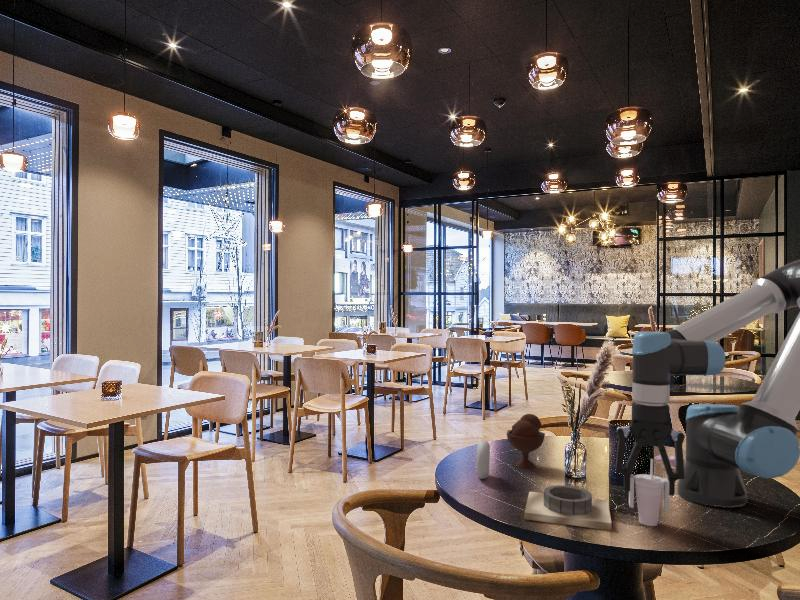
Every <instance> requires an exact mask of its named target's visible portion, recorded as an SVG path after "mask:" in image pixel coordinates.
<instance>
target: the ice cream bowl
mask: <svg viewBox="0 0 800 600" xmlns="http://www.w3.org/2000/svg"><path fill="white" fill-rule="evenodd" d="M541 427H542V422H541V420H540V418H539V417H538V416H537V415H536V414H533V413H526V414H524V415H522V416H521V418H520V419H519V420H517V421H515V423H514V424H513V425H512V426H511V429H508V430H507V432H506V436H507V440H508V443H509V444H510V445H511V446H512V447H513V448H515V449H516V450H518V451H519V452H521V454H522V455H521V456H522V457H521V458H522V459H520V460H518V461H517V462H516V464H515V466H516V467H517V468H520V469H529V470H530V469H534V468H535V467H536V464H535V463H533V461H531V460H529V454H530V453H532V452H534V451H536V450H538V449H539V448H540V447H541V446H542V445H543V443H544V440H545V437H546V433H544V432H542V431H541V430H540V428H541Z"/></svg>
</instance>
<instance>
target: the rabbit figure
mask: <svg viewBox="0 0 800 600" xmlns="http://www.w3.org/2000/svg"><path fill="white" fill-rule="evenodd" d="M668 458H669V461H670V464H671V467H672V468H676V460H675V455H671V456H669V455H668ZM654 459H655V461H660V460H661V461H662V458H661V455H660V454H659V455H657V456H654V458H653V460H654ZM683 462H684V466H685V463H686V459H684V458H683Z"/></svg>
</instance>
